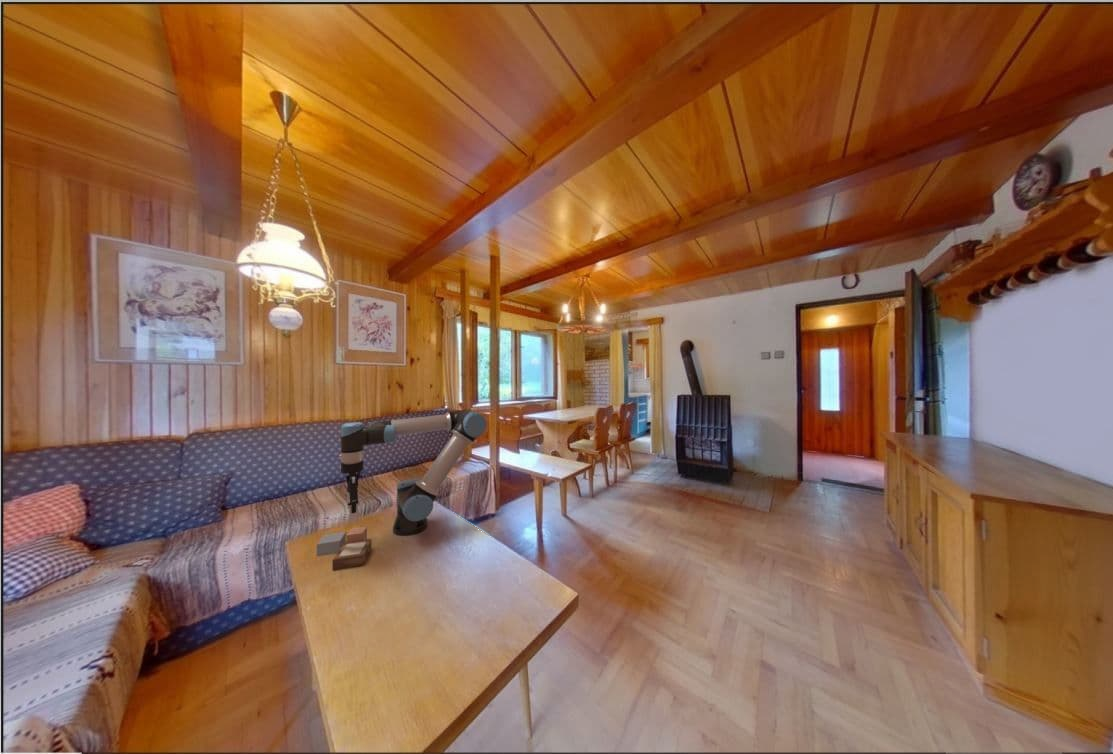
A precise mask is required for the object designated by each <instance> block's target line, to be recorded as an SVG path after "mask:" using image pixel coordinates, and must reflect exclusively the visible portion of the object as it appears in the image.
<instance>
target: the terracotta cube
mask: <svg viewBox="0 0 1113 754" xmlns="http://www.w3.org/2000/svg"><path fill="white" fill-rule="evenodd" d="M365 540H368V526H361V527H352V528H351V529H350V530H349V532H348V533H346V543H350V542H357V541H365Z"/></svg>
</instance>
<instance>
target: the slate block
mask: <svg viewBox="0 0 1113 754" xmlns="http://www.w3.org/2000/svg"><path fill="white" fill-rule="evenodd" d="M344 543H347V531H339V532H333V533H325V534H323V536H321V538H320V539H319V541H318V542H317V543H316V556H317V557H318V556H319V557H320V556H325V555H332V554H337V553H338V551H339V550H340V549H341V547H342V546H343V544H344Z"/></svg>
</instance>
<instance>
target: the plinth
mask: <svg viewBox="0 0 1113 754" xmlns="http://www.w3.org/2000/svg"><path fill="white" fill-rule="evenodd" d="M371 551H372V539H367V540H365V541H357V542H350V543H347V542H346V543H344V544H343V546H342V547H341V549H340V550H339V551H338V553H335V554H336V555H335V556H334V557H333V558H332V571H338V570H345V569H351V568H358V567H363V566H364V564H365V562H366V561H367V558H368V557H369V555H370V553H371Z"/></svg>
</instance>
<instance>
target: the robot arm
mask: <svg viewBox="0 0 1113 754" xmlns="http://www.w3.org/2000/svg"><path fill="white" fill-rule="evenodd" d="M487 425H488V423H487V418H486V417H485V415H483V414H482V413H480V412H478V411H474V410H472V409H460V410H456V411H455V410H454V411H447V412H446V413H445V414H439V415H438V414H437V415H429V416H428V415H427V416H419V417H410V418H402V419H401V418H400V419H391V420H375V421H373V422H371V423H369V425H368V426H364V423H363V422H359V421H357V422H356V421H354V422H346V423H343V424H342V425H341V428H340V430H341V431H340V454H339V455H338V457H339V458H340V462H341V464H340V473H341V474H346V478H345V479H346V484H347V487H346V489H347V490H346V492H347V494H346V495H347V502H346V503H347V505H346V508H347V510H348V512H349V513H348V522H349V523H350V522H355V521H358V519H359V508H358V507H359V505H358V504H359V495H358V494H359V492H358V491H359V490H358V487H359V478H360V477H359V475H358V472H361V471H363V470H364V455H365V454H364V446H371V445H373V446H374V445H382V444H385V445H386V444H391V443H396V440H397V437H401V436H407V435H414V434H421V433H422V434H423V433H428V432H436V431H443V430H446V431H448V432H452V436H451V437H450V439H449V440H448V441H447V442H446V444H445V445H444V447H443V448H442V449H441V451H440V453H439V454H438V455H437V457H436V459H435V460H434V461H433V463H432V464H431V465H430V467H429V469H427V471H426V473H425V474H424V475H423V477H422V478H411V479H405V480H402V481H399V482H398V483H397V485H396V516H395V520H394V522H393V526H392V533H393V534H394V535H395V536H399V537H406V536H412V535H416V534H418V533H421V532H423V531H424V530H425V529H427V527H428V518H427V517H429V516H430V514H431V513H432V512H433V509H434V502H435V501H436V499H437V497H438V496H439V491H438V490H439V489H440V487H441V485H442V484H443V482H444V481H445V479H446V478H447V476H448V475H449V474H450V472H451V471H452V469H453V468H454V466H455V464H456V463H457V462H458V460H459V459H460V457H461V456H462V454H463V453H464V451H465V450H466V448H467V446H469V445H470V444H473V443H474V442H475V441H476V439H477V438H478V437H481V436H482V435H483V434H484V433H485V432H486V430H487Z"/></svg>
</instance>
